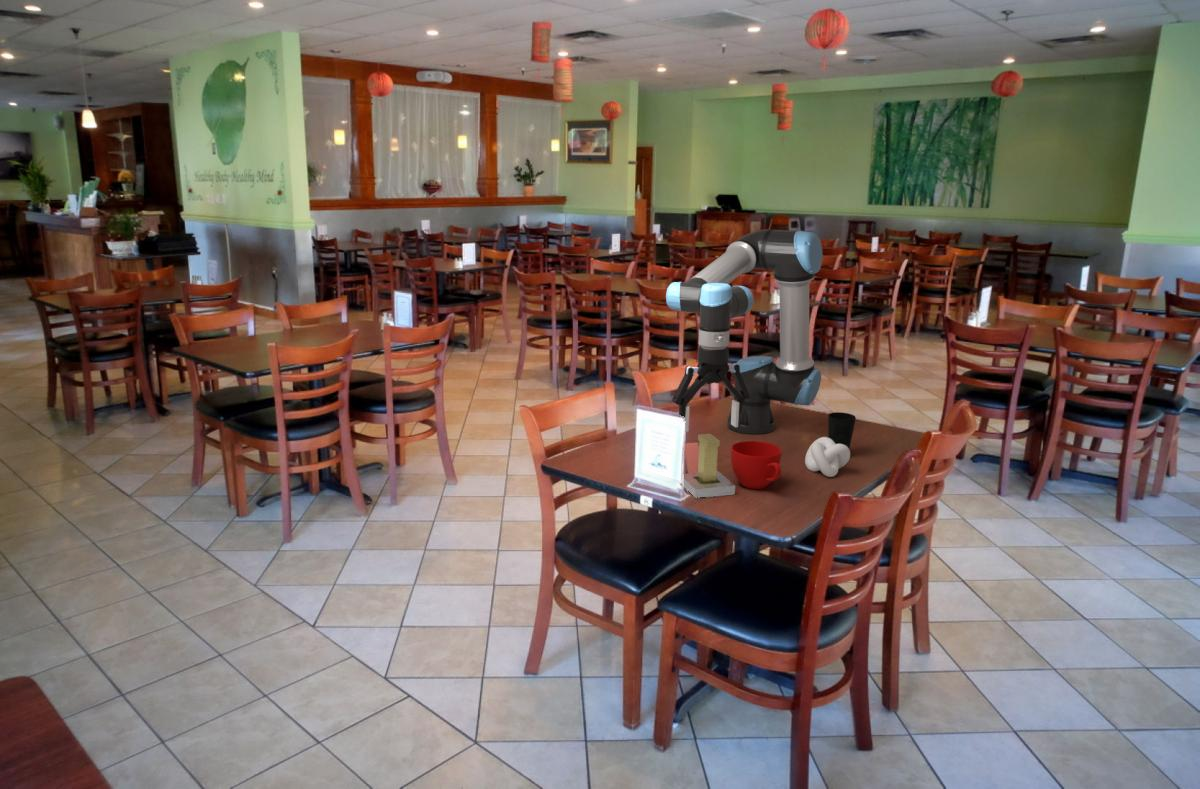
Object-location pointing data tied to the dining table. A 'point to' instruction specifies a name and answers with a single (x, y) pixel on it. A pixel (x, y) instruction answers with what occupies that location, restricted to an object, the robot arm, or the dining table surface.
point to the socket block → (708, 486)
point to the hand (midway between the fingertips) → (709, 428)
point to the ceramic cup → (756, 463)
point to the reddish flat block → (692, 457)
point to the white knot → (826, 456)
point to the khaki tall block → (707, 458)
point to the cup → (841, 427)
